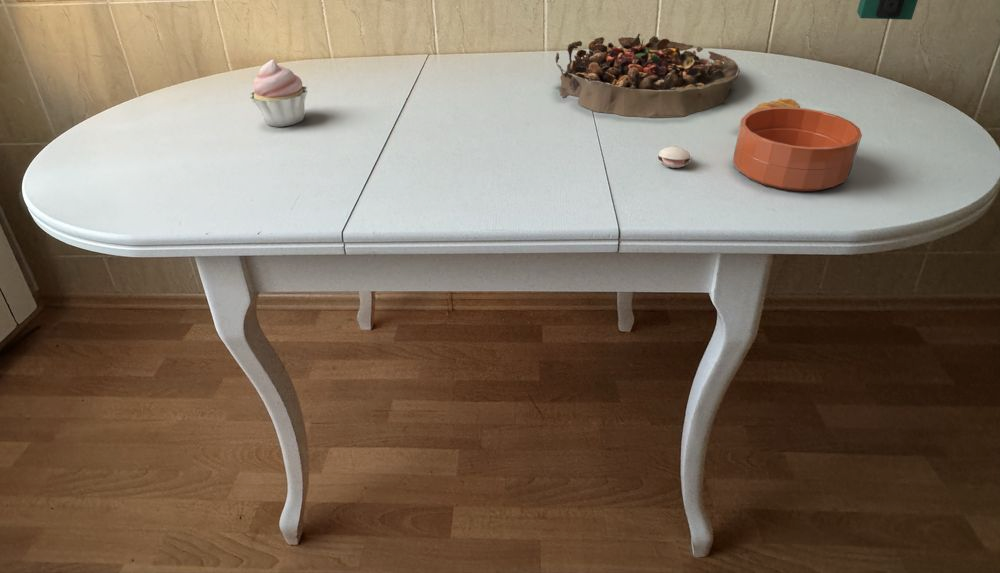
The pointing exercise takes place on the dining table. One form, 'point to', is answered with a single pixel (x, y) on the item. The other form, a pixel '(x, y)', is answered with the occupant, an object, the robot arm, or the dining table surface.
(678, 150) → the macaroon
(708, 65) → the food dish
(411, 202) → the dining table surface
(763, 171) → the bowl
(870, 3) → the sponge
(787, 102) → the pastry
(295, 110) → the cupcake
